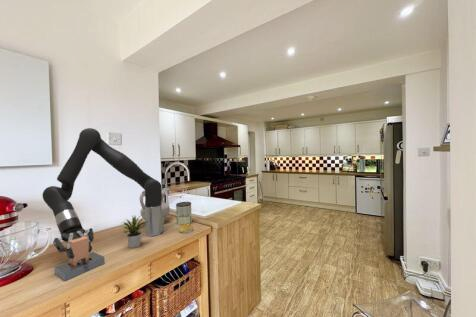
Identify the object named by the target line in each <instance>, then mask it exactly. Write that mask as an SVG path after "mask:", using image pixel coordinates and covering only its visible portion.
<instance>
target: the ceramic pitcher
mask: <svg viewBox="0 0 476 317" xmlns="http://www.w3.org/2000/svg"><path fill="white" fill-rule="evenodd" d="M166 192H167V188H165V187H164V188H163V189H162V201H161V206H162V216H163V222H164V223H165V222H166V221H165V220H166V218H168V216H169V214H170V212H171V211H170V210H171V208H170V204H169V203H167V202H166V201H165V200H164V197H165V193H166ZM144 197H145V190H143V191H141V194H140V195H139V204H140V207H141V208H140V212H139V213H140V217H141V219H142V218H143V217H144V218H143V219H142V220H144V219H145V220H144V222H146V214H145V202H144Z"/></svg>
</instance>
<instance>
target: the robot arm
mask: <svg viewBox="0 0 476 317" xmlns="http://www.w3.org/2000/svg"><path fill="white" fill-rule="evenodd" d="M91 151H92V152H93V153H95V154H97V155H98V156H100V157H101V158H102V159H103V160H104V161H105V162H106V163H108V164H109V165H110V166H111V167H112V168H114V169H115V170H116V171H117V172H119V173H120V174H122V176H125V177H126V178H129V179H131V180H132V181H134V182H136V183H137V184H138V185H139V186H140V187H141V188H142V189H143V191H145V196H144V197H145V198H144V205H145V214H146V221H145V222H146V223H145V225H146V226H145V235H146V236H147V237H155V236H159V235H161V234H162V233H163V232H164V231H165V227H164V226H165V225H164V223H165V222H163V216H162V206H161V201H162V190H163V189H162V183H161V182H160V181H159V180H157V179H155V178H154V177H151V175H149V174H147V173H146V172H144V170H143V169H142V168H140V166H139V165H138V164H137V163H135V162H134V161H133V159H131V158H130V157H128V156H127V155H126V154H124V153H123V152H121V151H119V150H117V149H115V148H113V147H111V146H110V145H109V144H108V143H106V141H105V140H103V139H102V137H101V134H100V132H99V131H98V130H97V129H96V128H92V127H91V128H90V127H88V128H85V129H82V130H81V131H80V132H79V135H78V139H77V142H76V145H75V147H74V149H73V151H72V153H71V155H70V157H69V158H68V159H67V161H66V162H65V164H64V166H63V167H62V169H61V170H60V172H59V174H58V176H57V177H56V181H58V182H59V183H61V187H60V186H56V185H52V186H48V187H46V188H45V189H44V190H43V192H42V200H43V201H44V202H45V204H46V205H47V206H48V208H50V210H51V211H52V212H53V216H54V218H55V223H56V226H57V228H58V229H57V230H58V231H59V234H60V237H54V239H53V241H52V244H53V245H54V247H55V248H56V250H57V251H58V253H66V256H67V258H68V259H69V260H70V259H73V258H74V254H73V251H72V249H70V248H71V246H70V242H69V241H71V240H74V239H78V238H81V237H84V236H85V237H88V238H89V253H92V250H93V247H92V245H91V243H92V242H93V241H94V239H95V236H94V230H93V228H91V227H90V228H89V229H84V227H83V226H82V222H81V221H80V218H79V216H78V214H77V212H76V210H75V209H74V208H75V207H74V206H73V203H72V202H71V201H69V200H70V199H71V198H72V195H73V191H74V186H75V182H76V180H77V179H78V177H79V175H80V173H81V171H82V169H83V167H84V165H85V162H86V159H87V158H88V155H89V154H90V153H91ZM148 221H150V222H148ZM146 227H147V228H146ZM85 234H86V235H87V236H86V235H85ZM62 241H63V242H65V243H66V245H65V246H64V245H63V243H62Z"/></svg>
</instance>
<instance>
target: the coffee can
mask: <svg viewBox="0 0 476 317" xmlns="http://www.w3.org/2000/svg"><path fill="white" fill-rule="evenodd" d="M175 206H176V208H175V210H176V225H177V226H179V225H183V224H189V225H191V224H192V223H193V222H192V220H193V218H192V216H193V215H192V202H191V201H179V202H177V203H176V204H175ZM191 222H192V223H191ZM190 223H191V224H190Z"/></svg>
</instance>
